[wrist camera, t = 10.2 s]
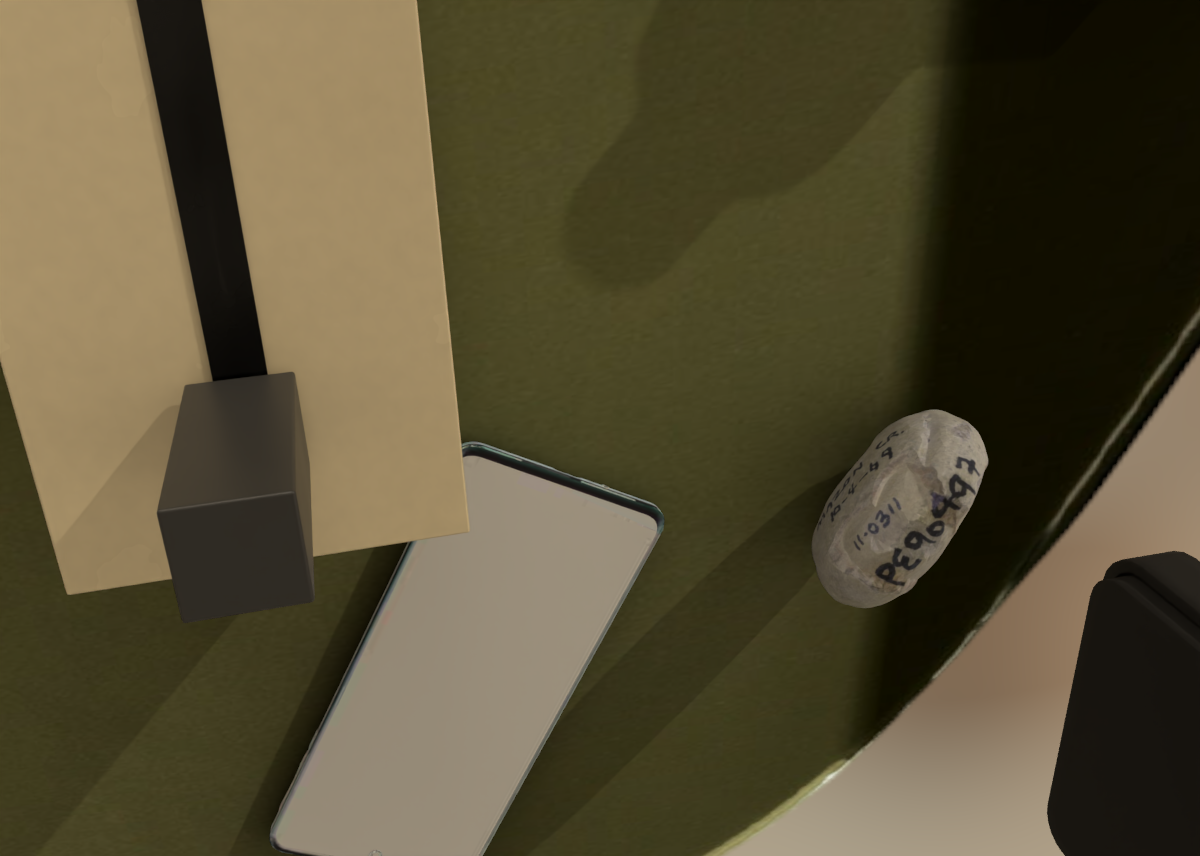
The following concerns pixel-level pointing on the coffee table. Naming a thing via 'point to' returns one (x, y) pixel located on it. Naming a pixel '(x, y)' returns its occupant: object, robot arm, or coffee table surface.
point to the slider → (238, 499)
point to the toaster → (222, 259)
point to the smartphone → (467, 665)
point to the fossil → (898, 508)
